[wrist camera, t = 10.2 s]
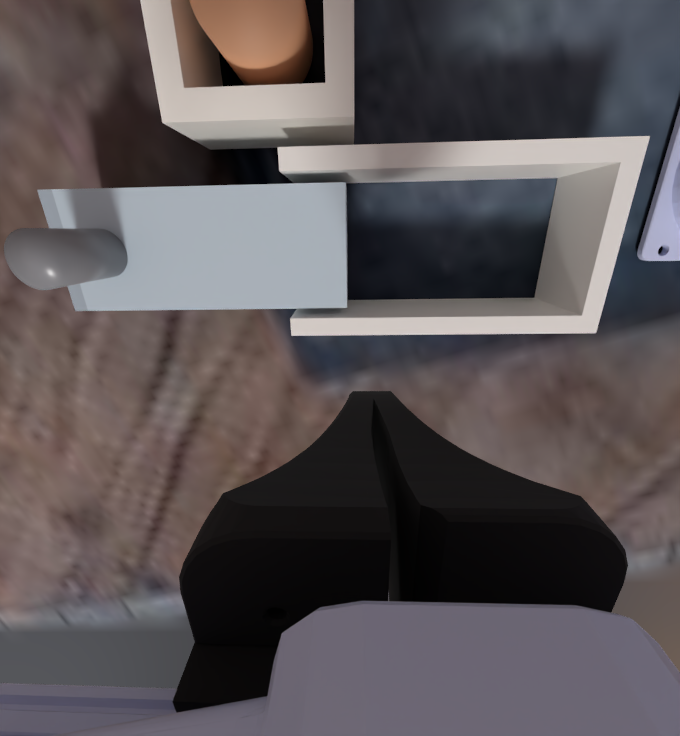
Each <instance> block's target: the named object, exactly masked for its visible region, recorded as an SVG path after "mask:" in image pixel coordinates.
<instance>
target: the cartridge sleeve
mask: <svg viewBox="0 0 680 736" xmlns="http://www.w3.org/2000/svg"><path fill="white" fill-rule="evenodd" d="M649 138H650V136H633V137H599V138H566V139H532V140H498V141H464V142H430V143H396V144H362V145H328V146H294V147H277V148H278V161H279V171H280V172H281V173H282V174H283V175H285V176H286V177H287V178H288V179H290V180H291V181H292V182H293V183H331V182H346V183H377V182H417V181H456V180H496V179H536V178H558V179H557V184H556V189H555V194H554V199H553V204H552V210H551V215H550V220H549V225H548V230H547V235H546V240H545V245H544V251H543V256H542V261H541V266H540V271H539V276H538V281H537V286H536V291H535V297H534V298H470V299H389V300H348V301H347V308H297V310H296V311H295V313H294V314H293V315H292V317H291V318H290V321H291V335H292V336H311V335H432V334H552V333H596V331H597V328H598V324H599V320H600V317H601V313H602V309H603V306H604V302H605V298H606V295H607V291H608V287H609V284H610V280H611V276H612V273H613V269H614V266H615V262H616V258H617V255H618V251H619V247H620V244H621V240H622V236H623V233H624V229H625V225H626V222H627V218H628V214H629V211H630V207H631V204H632V200H633V196H634V193H635V189H636V185H637V182H638V178H639V174H640V171H641V167H642V163H643V160H644V156H645V152H646V149H647V145H648V141H649Z"/></svg>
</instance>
